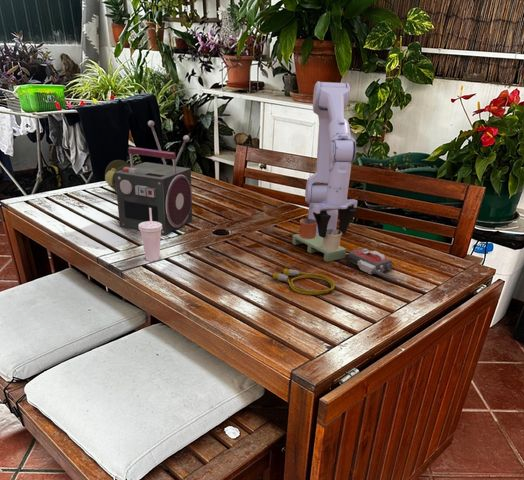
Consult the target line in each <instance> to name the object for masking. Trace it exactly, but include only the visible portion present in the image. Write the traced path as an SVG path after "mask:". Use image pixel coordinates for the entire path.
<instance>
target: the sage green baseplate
mask: <svg viewBox="0 0 524 480" xmlns="http://www.w3.org/2000/svg"><path fill="white" fill-rule="evenodd" d="M299 234H300V233H295V234H292V239H291V244H292V245H294V246H297V245H303V244H305V245H307V249H306V252H307V253H309V254H313V253H318V252H320V253H322V254H323V261H324V262H327V263H328V262H333V261H338V260H342V259H346V258H345V255H346V254H347V248H345V247H343V246H341V245H340V246H339V249H338V250H326V249H324V248H322V243H323V238H322V237H320V236H318V235H316V237H315V238H312V239H306V238H302V237H300V236H299Z"/></svg>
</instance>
